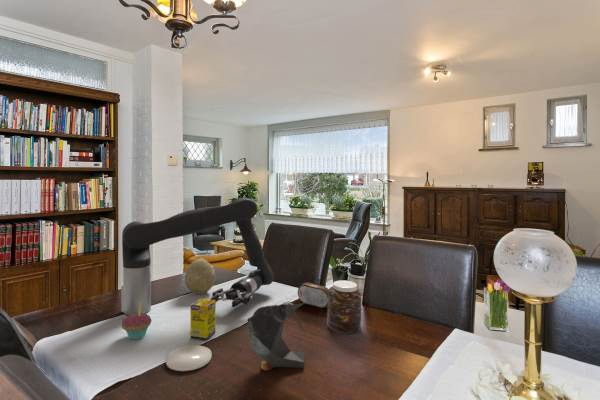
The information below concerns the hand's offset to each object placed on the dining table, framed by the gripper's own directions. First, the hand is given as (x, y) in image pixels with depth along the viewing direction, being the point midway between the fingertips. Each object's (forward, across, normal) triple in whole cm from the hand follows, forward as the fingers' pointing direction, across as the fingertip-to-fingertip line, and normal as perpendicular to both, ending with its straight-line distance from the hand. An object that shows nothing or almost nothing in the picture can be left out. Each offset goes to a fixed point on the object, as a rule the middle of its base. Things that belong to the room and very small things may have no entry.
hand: (222, 303), depth 120 cm
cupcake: (+19, -19, +7) cm, 28 cm away
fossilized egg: (-22, -24, +7) cm, 33 cm away
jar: (-12, +41, +7) cm, 43 cm away
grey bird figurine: (+19, +28, +7) cm, 35 cm away
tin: (-27, +26, +7) cm, 38 cm away
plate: (+25, +5, +7) cm, 27 cm away
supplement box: (+11, 0, +7) cm, 13 cm away
